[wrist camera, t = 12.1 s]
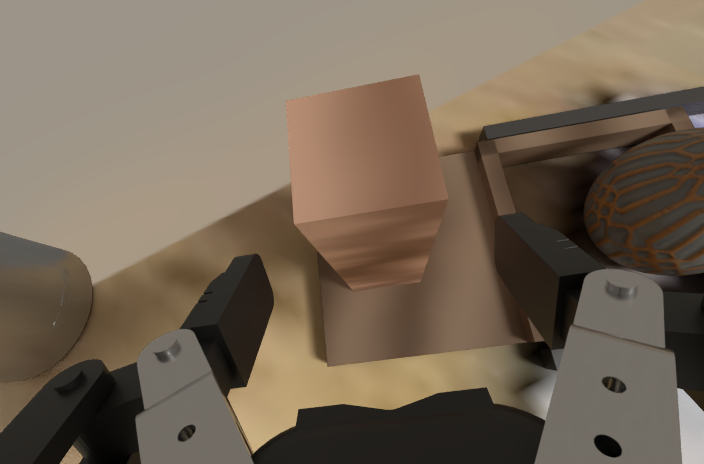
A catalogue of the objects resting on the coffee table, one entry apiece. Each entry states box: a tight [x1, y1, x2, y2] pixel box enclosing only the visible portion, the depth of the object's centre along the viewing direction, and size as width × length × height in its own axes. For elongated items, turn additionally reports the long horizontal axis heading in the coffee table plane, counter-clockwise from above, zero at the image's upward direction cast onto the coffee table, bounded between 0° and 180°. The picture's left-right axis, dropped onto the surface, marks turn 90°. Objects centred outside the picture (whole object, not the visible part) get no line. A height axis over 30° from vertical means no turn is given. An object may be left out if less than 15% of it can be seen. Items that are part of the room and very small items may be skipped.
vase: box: [584, 128, 704, 276], centre depth 16 cm, size 7×7×9 cm
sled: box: [286, 75, 694, 367], centre depth 15 cm, size 23×12×13 cm, turn 97°
